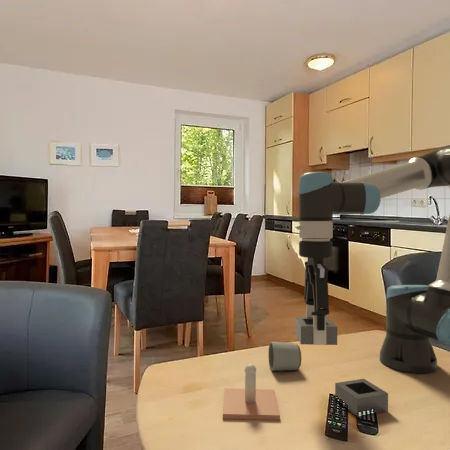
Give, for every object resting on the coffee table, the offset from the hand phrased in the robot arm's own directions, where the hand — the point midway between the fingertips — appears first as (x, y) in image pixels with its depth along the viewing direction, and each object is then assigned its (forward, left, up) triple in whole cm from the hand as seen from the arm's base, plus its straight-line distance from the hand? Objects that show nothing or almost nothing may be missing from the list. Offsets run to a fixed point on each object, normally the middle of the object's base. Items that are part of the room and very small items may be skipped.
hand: (315, 337), depth 87 cm
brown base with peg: (+15, +3, -15) cm, 21 cm away
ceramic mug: (+5, -19, -15) cm, 25 cm away
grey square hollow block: (-10, +2, -15) cm, 18 cm away
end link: (0, 0, 0) cm, 0 cm away
